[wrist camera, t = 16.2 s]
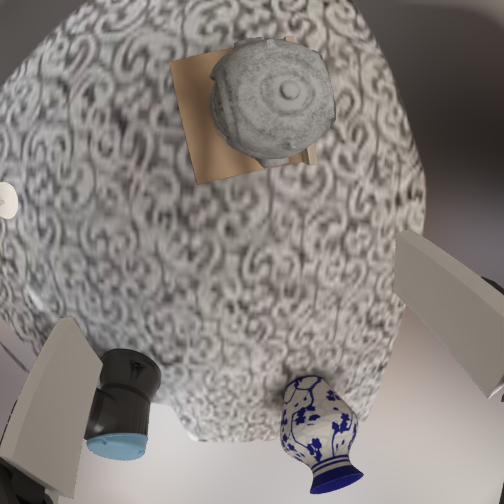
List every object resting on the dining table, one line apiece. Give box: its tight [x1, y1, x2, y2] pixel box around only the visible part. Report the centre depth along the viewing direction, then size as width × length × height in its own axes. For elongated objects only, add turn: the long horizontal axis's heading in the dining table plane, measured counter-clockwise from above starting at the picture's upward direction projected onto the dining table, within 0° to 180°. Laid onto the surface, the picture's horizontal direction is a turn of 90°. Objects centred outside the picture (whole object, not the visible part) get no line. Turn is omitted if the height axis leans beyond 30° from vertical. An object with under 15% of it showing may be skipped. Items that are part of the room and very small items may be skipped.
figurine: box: [209, 37, 336, 169], centre depth 27 cm, size 10×14×25 cm
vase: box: [280, 376, 364, 494], centre depth 56 cm, size 19×19×30 cm
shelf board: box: [169, 36, 317, 185], centre depth 37 cm, size 18×20×4 cm
